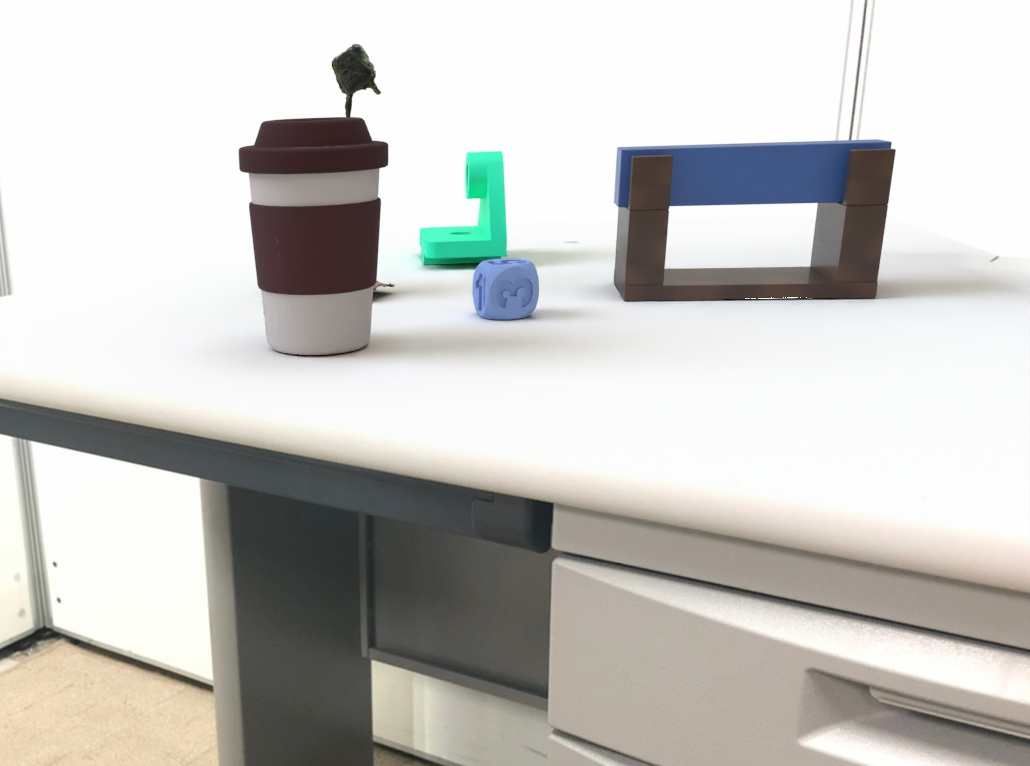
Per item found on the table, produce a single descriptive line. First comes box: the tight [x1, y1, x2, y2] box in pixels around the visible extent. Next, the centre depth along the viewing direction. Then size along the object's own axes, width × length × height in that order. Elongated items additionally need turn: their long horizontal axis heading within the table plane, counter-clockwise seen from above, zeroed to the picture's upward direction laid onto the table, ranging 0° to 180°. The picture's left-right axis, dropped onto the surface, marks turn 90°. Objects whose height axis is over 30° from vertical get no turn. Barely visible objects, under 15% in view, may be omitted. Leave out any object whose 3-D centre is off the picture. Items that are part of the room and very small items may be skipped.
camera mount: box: [419, 150, 508, 266], centre depth 118 cm, size 12×8×10 cm, turn 178°
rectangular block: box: [613, 138, 893, 208], centre depth 95 cm, size 20×4×4 cm, turn 81°
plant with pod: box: [331, 43, 395, 292], centre depth 100 cm, size 8×11×20 cm
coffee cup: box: [238, 116, 389, 356], centre depth 81 cm, size 10×10×15 cm
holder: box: [613, 147, 897, 302], centre depth 96 cm, size 19×9×11 cm, turn 81°
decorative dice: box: [472, 258, 540, 321], centre depth 91 cm, size 4×4×4 cm
